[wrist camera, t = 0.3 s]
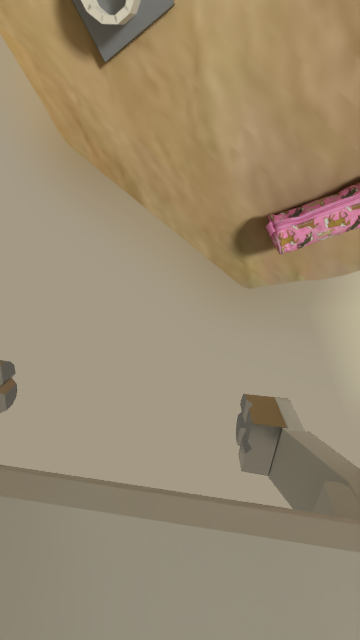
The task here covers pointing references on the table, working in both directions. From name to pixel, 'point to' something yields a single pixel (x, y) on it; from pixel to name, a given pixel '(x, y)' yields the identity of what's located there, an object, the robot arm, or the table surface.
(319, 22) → the table surface
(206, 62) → the table surface
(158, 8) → the holder board
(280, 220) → the pencil case
